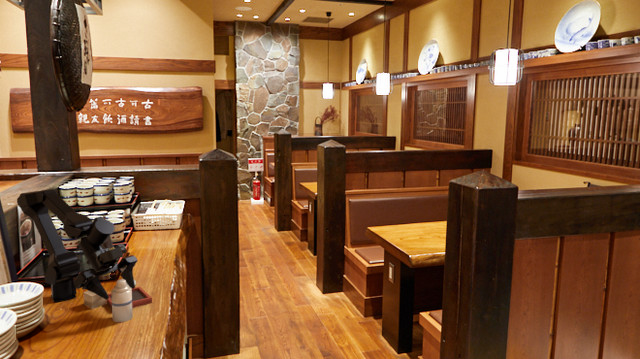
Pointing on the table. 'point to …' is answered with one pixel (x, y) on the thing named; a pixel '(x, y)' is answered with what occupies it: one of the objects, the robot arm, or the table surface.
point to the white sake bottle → (121, 302)
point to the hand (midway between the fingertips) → (121, 293)
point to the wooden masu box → (93, 300)
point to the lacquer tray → (135, 298)
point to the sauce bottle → (110, 246)
